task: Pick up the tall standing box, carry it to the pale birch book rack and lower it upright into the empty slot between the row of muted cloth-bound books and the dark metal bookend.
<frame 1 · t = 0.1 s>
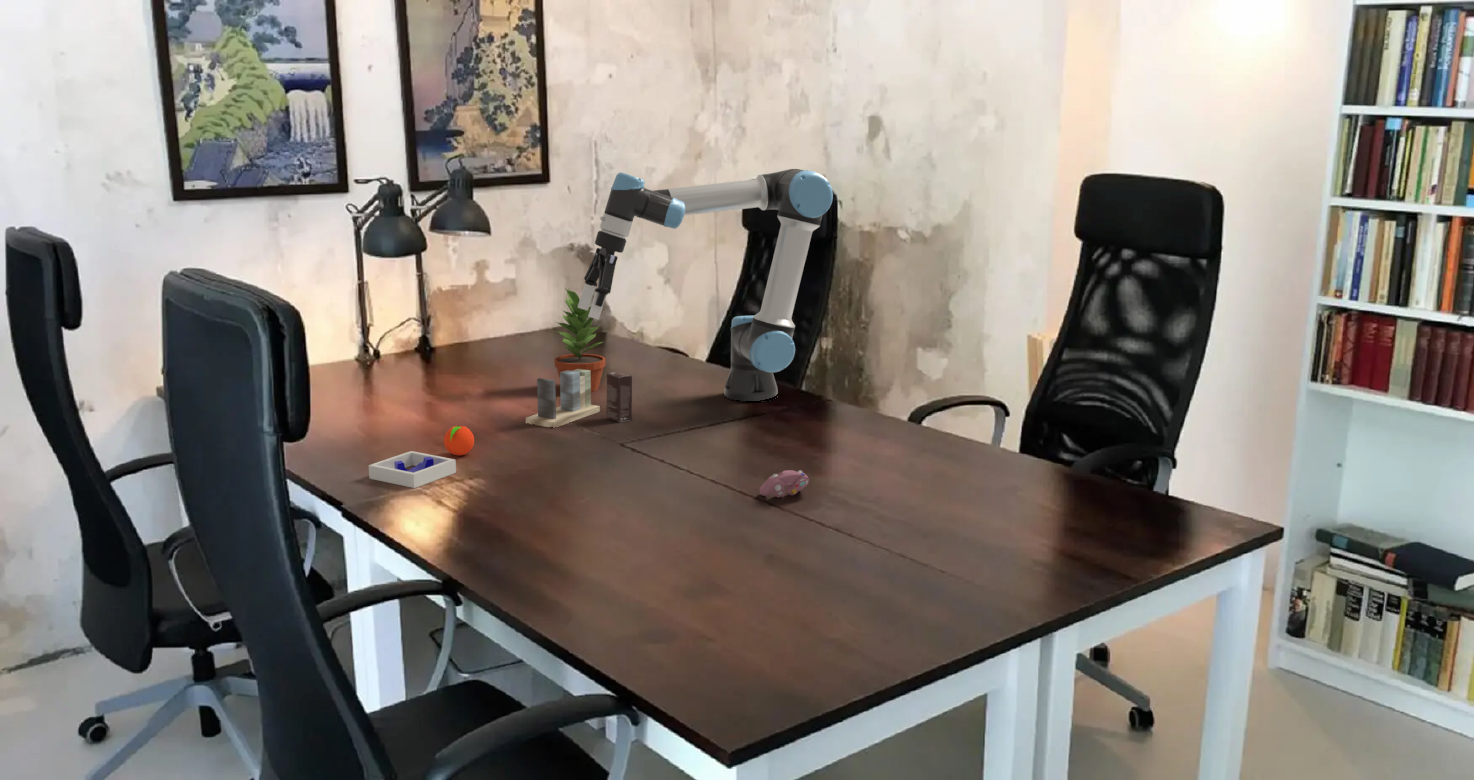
hand: (587, 313, 306), 28 cm above the table, tool tilted 20°, fingers open, 13 cm apart
book rack: (563, 417, 313), on the table
clementine: (458, 456, 278), on the table
potted plant: (580, 389, 345), on the table
video game controller: (784, 496, 253), on the table
desk organiser frame: (413, 475, 263), on the table
cable holder: (413, 477, 262), resting in desk organiser frame
box: (619, 420, 312), on the table
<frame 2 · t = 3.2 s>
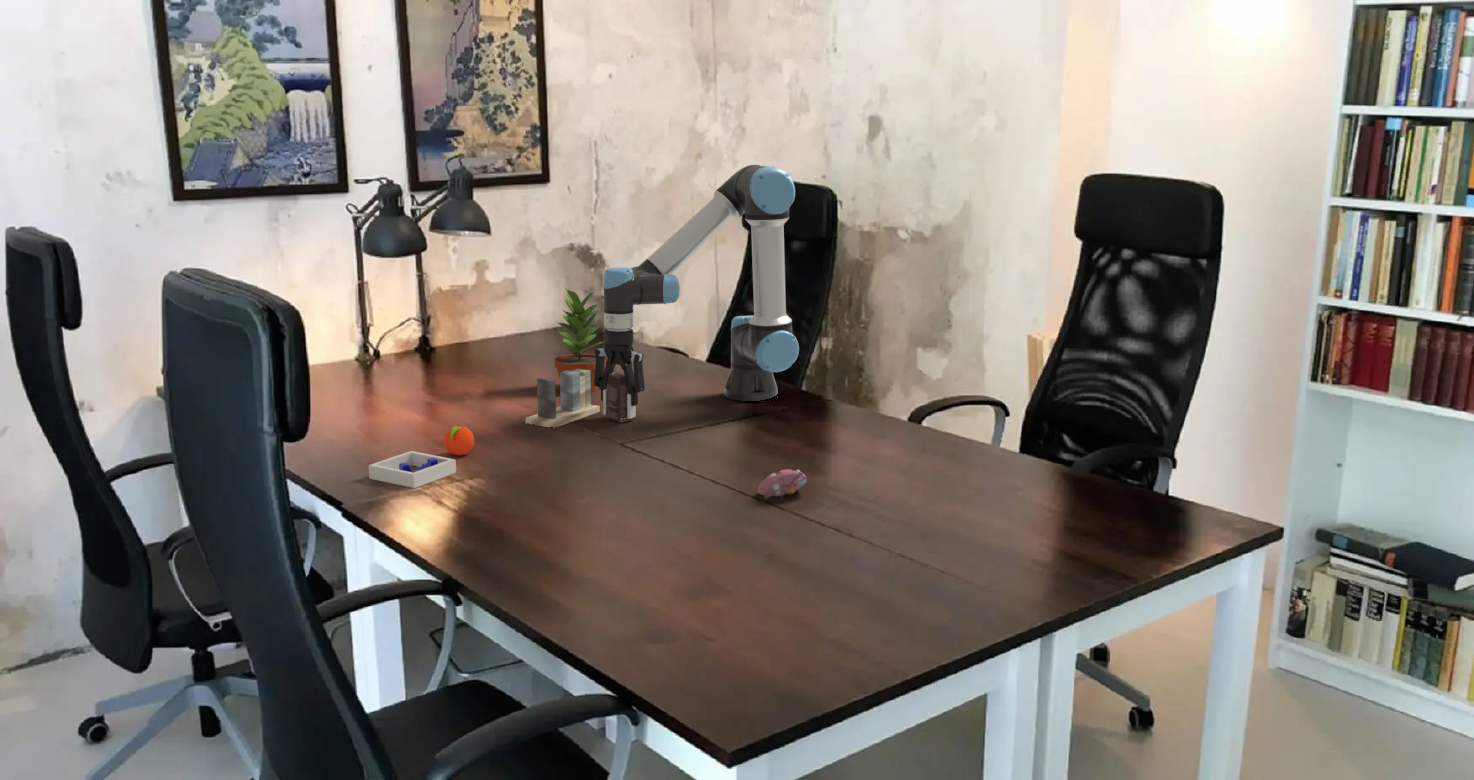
hand: (619, 415, 312), 1 cm above the table, tool pointing down, fingers closed on box, 7 cm apart
cable holder: (418, 479, 261), resting in desk organiser frame
box: (619, 420, 312), on the table, touching gripper
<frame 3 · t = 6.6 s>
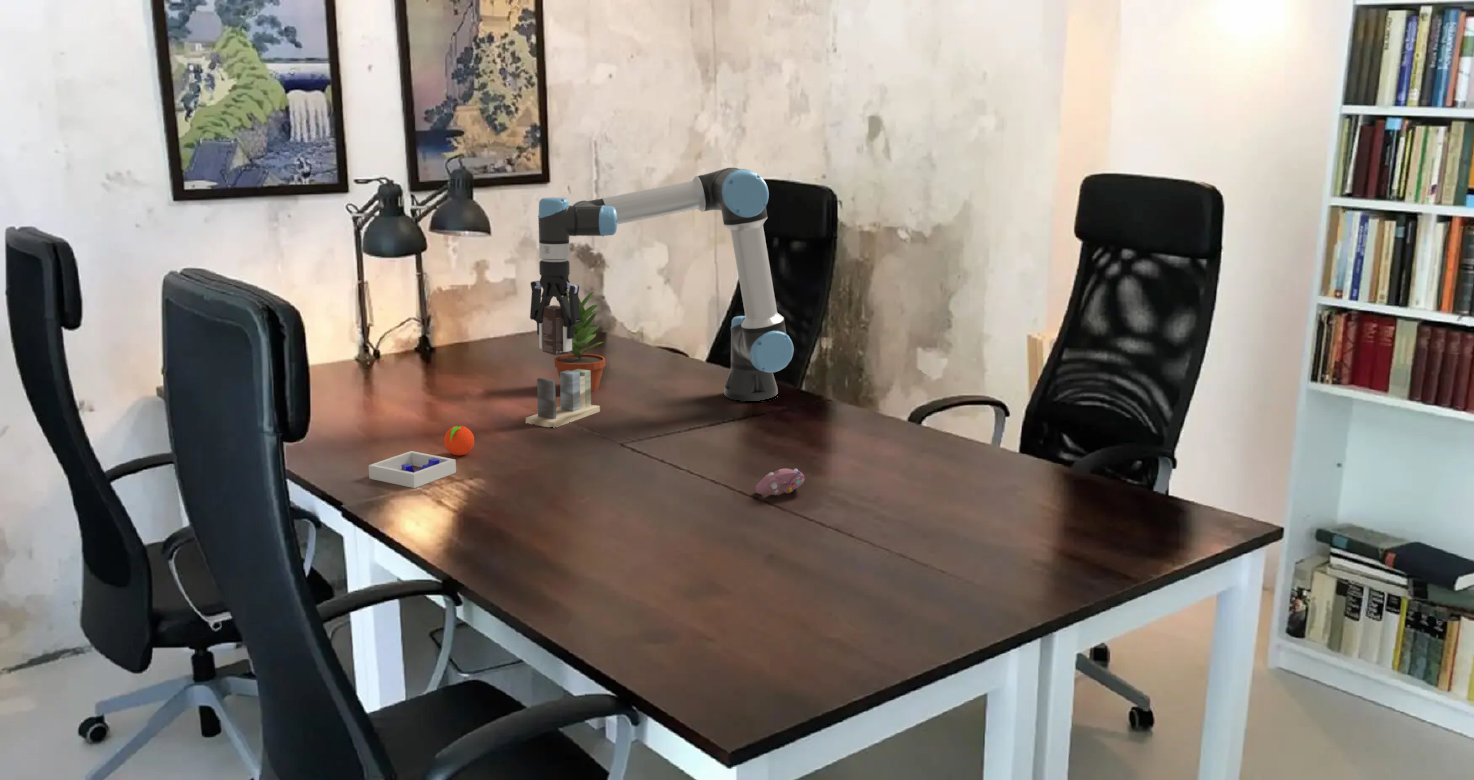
hand: (555, 349, 307), 19 cm above the table, tool pointing down, fingers closed on box, 7 cm apart
box: (555, 353, 307), point 17 cm above the table, touching gripper
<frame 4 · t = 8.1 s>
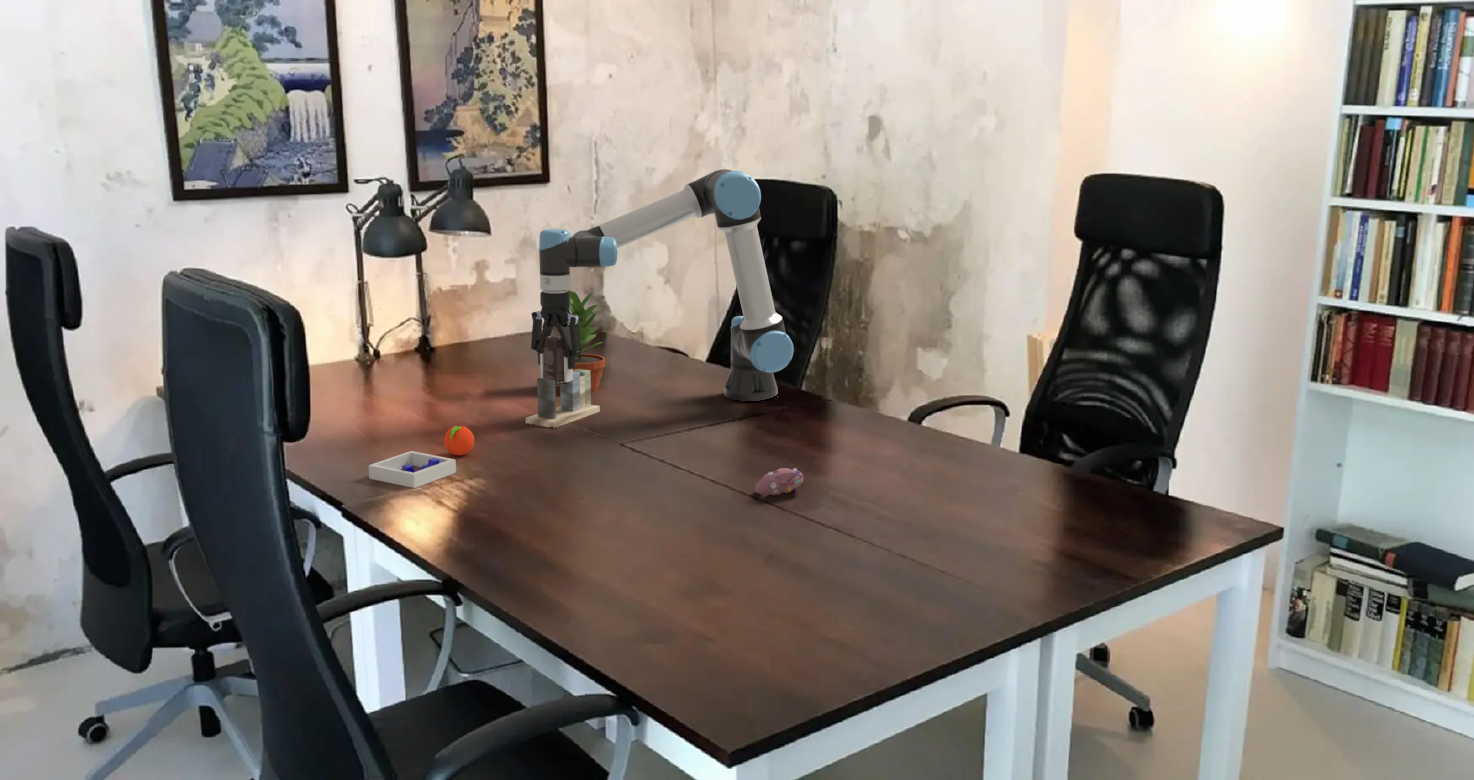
hand: (556, 379, 309), 11 cm above the table, tool pointing down, fingers closed on box, 7 cm apart
box: (556, 383, 309), point 9 cm above the table, touching gripper
when the fingers open (4 cm above the table, at t = 9.9 s): box drops 1 cm, resting on book rack.
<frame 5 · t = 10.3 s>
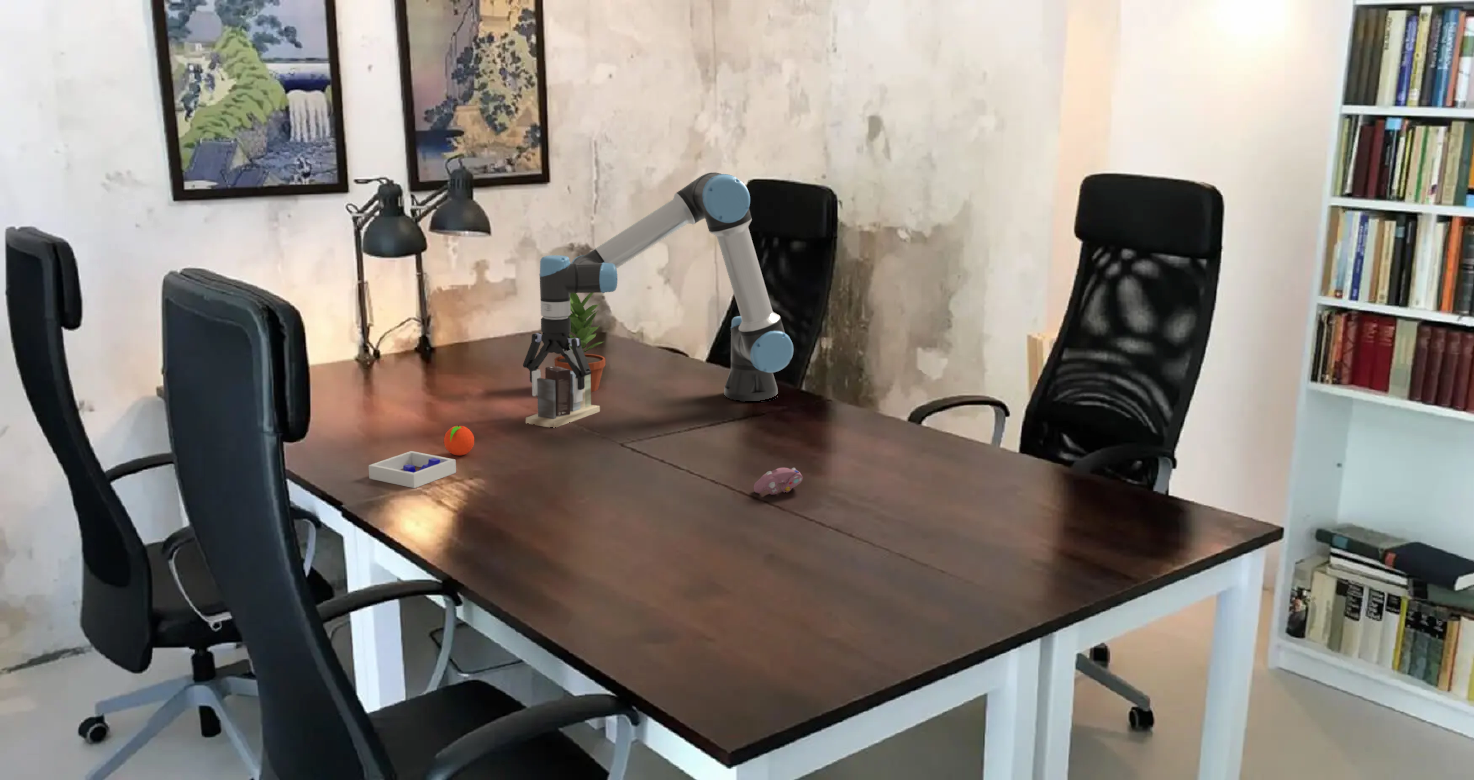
hand: (557, 398, 310), 6 cm above the table, tool pointing down, fingers open, 13 cm apart
box: (558, 414, 311), point 1 cm above the table, touching book rack
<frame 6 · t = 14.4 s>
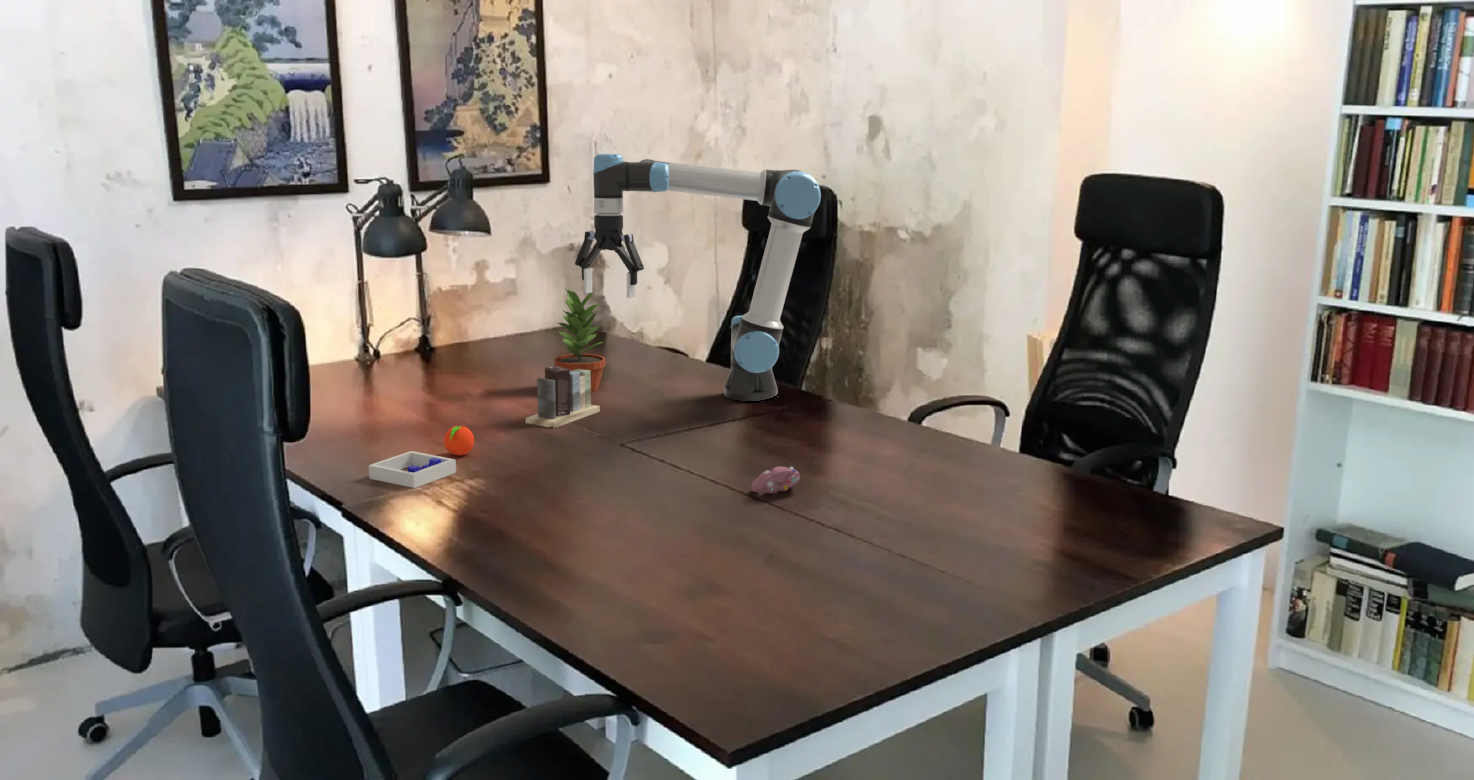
hand: (609, 295, 317), 31 cm above the table, tool pointing down, fingers open, 13 cm apart
at the end: box 0.1 cm from the target spot on the book rack, point 1.3 cm above the book rack's base; box tilted 0°; the gripper is holding nothing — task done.
